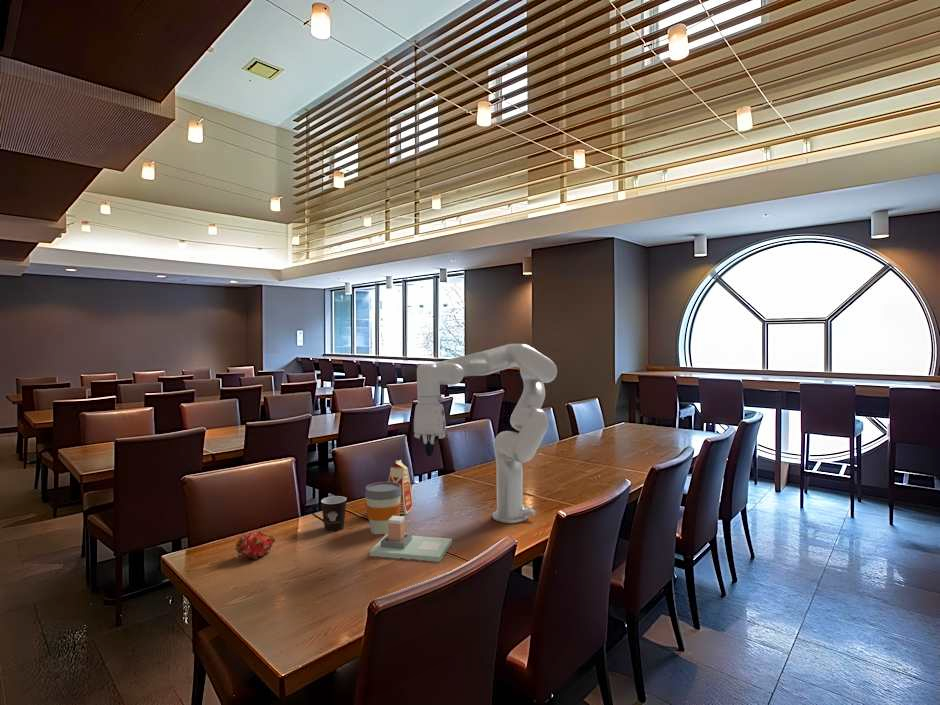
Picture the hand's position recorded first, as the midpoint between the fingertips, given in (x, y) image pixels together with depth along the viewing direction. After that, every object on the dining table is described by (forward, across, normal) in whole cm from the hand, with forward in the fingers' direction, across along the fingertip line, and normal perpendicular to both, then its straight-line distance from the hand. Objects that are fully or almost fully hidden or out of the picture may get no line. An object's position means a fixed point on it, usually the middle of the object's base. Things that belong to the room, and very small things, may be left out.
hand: (430, 455), depth 170 cm
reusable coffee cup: (+27, +17, 0) cm, 32 cm away
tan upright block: (+25, +7, +14) cm, 29 cm away
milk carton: (+27, +19, -20) cm, 39 cm away
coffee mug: (+26, +36, +2) cm, 45 cm away
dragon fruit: (+26, +48, +28) cm, 61 cm away
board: (+26, +2, +14) cm, 30 cm away
